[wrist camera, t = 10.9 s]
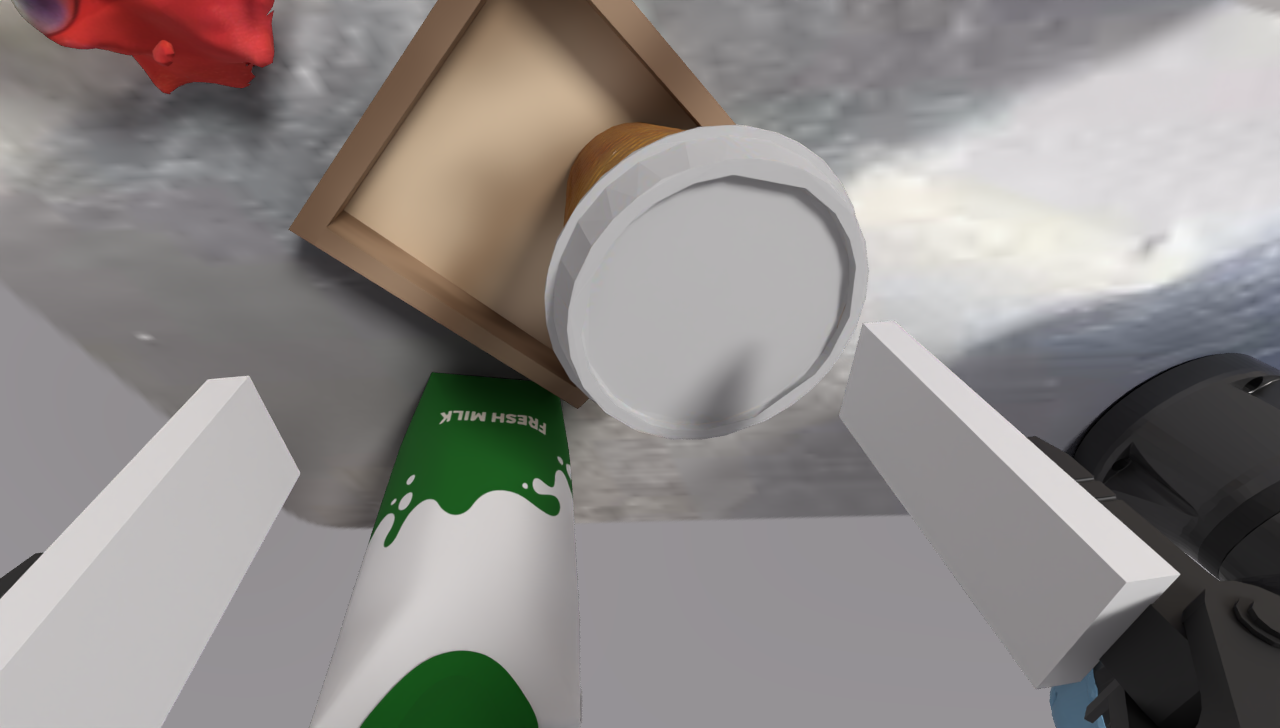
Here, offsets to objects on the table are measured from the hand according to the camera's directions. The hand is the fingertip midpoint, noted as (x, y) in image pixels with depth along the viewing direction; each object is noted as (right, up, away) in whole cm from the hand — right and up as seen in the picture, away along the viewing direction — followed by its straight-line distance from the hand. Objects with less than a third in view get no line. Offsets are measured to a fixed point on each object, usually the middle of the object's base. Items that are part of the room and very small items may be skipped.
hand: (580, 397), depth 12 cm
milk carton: (-8, -3, +20) cm, 21 cm away
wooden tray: (-3, +9, +13) cm, 16 cm away
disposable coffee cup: (+1, +9, +12) cm, 15 cm away
